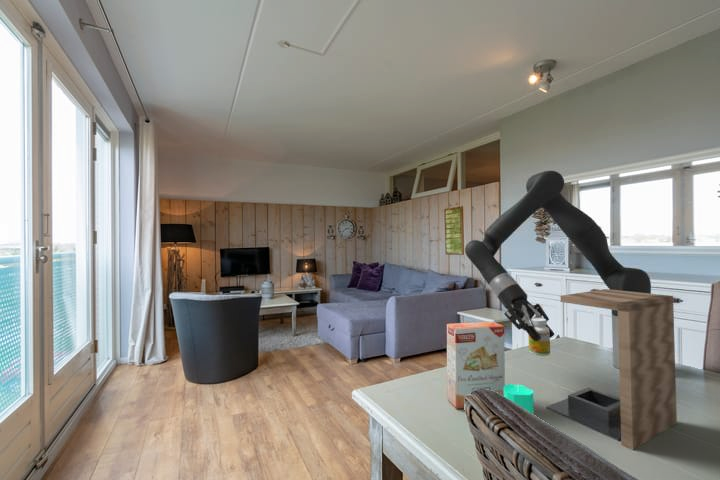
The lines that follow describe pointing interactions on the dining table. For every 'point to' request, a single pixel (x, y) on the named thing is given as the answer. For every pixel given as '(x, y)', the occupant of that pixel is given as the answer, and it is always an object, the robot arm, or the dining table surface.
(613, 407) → the socket
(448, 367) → the cracker box
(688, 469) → the dining table surface
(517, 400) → the candle
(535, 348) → the supplement bottle
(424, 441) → the dining table surface
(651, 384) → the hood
